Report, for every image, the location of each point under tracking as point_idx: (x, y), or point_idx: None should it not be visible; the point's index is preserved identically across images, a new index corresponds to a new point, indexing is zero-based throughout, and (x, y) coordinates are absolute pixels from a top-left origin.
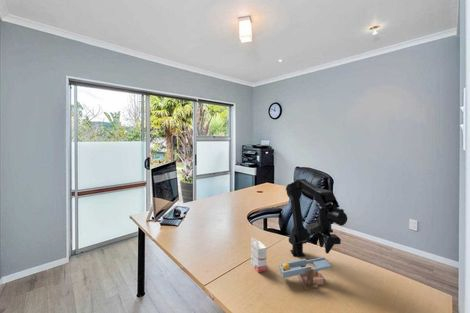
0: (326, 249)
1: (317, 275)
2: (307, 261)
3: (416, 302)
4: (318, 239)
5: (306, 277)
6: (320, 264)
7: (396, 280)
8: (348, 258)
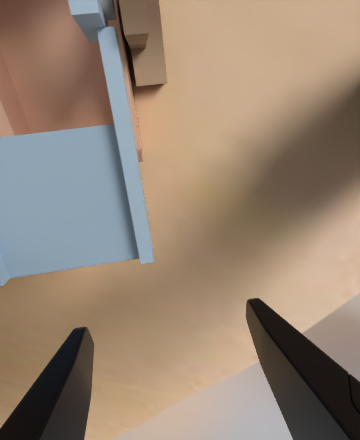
0: (26, 399)
1: None
2: (102, 53)
3: None
4: (344, 382)
5: (78, 40)
6: (42, 193)
7: (137, 410)
8: None
